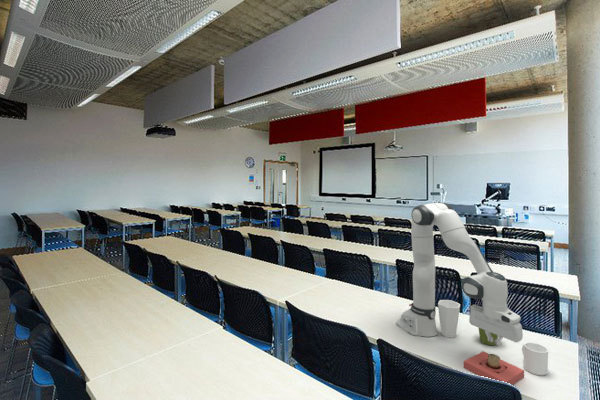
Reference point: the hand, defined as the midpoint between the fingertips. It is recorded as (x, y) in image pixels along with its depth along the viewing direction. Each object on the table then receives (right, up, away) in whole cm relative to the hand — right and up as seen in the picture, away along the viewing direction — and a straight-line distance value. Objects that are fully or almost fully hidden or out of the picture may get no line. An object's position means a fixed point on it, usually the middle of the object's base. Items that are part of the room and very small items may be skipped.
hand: (493, 342), depth 132 cm
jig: (0, -13, +1) cm, 13 cm away
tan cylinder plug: (0, -13, +1) cm, 13 cm away
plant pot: (+13, -12, +26) cm, 31 cm away
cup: (-3, -11, +34) cm, 36 cm away
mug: (+19, -13, +4) cm, 24 cm away
